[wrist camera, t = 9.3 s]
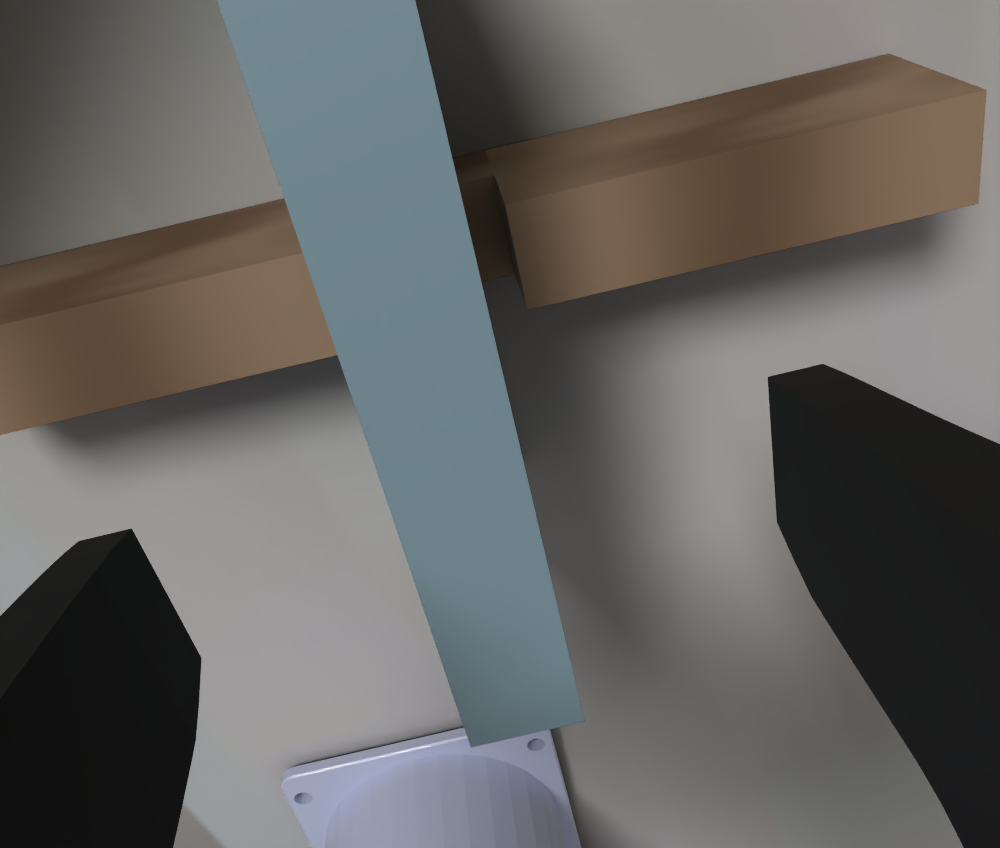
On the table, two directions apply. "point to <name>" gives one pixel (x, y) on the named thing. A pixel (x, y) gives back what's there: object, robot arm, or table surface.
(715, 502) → the table surface
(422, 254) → the teal slotted plate
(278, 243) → the walnut slotted plate
